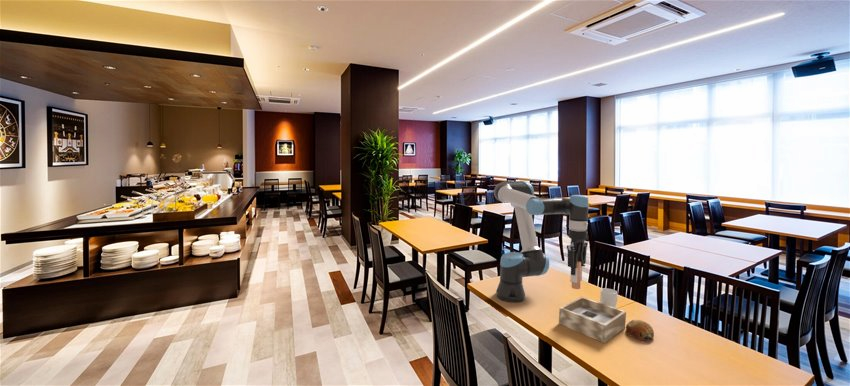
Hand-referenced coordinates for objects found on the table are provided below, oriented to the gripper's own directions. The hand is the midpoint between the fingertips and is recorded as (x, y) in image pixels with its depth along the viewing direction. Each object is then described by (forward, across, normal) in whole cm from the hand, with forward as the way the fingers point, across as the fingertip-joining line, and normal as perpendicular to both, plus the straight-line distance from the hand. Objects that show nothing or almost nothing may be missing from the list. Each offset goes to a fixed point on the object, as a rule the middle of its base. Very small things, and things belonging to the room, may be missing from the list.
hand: (576, 280), depth 151 cm
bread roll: (+20, +13, -22) cm, 33 cm away
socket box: (+20, +3, -6) cm, 21 cm away
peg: (+3, 0, 0) cm, 3 cm away
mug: (+20, +21, -5) cm, 29 cm away
